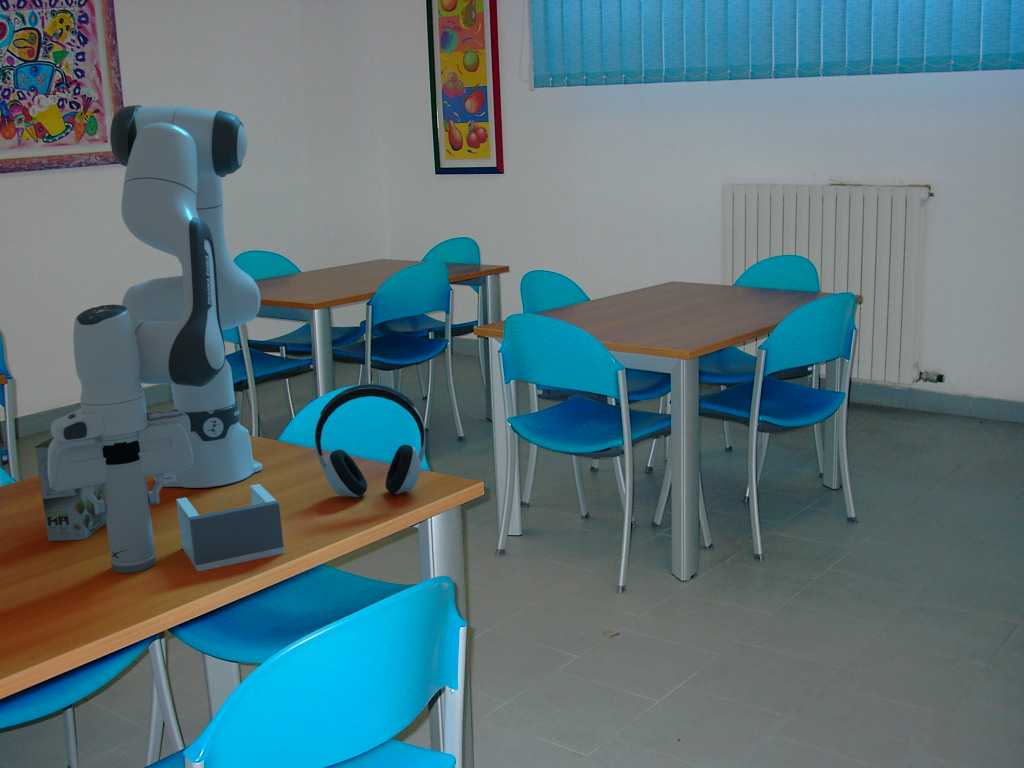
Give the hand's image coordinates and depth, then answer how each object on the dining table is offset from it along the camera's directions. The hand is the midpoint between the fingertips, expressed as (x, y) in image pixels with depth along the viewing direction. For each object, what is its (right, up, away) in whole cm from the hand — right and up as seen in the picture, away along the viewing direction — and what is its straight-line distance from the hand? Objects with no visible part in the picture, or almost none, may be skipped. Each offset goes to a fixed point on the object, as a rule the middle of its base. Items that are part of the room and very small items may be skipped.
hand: (127, 508), depth 161 cm
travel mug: (0, -9, +2) cm, 9 cm away
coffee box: (-15, -6, +20) cm, 26 cm away
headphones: (+33, -1, +30) cm, 45 cm away
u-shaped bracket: (+14, -7, +6) cm, 17 cm away
